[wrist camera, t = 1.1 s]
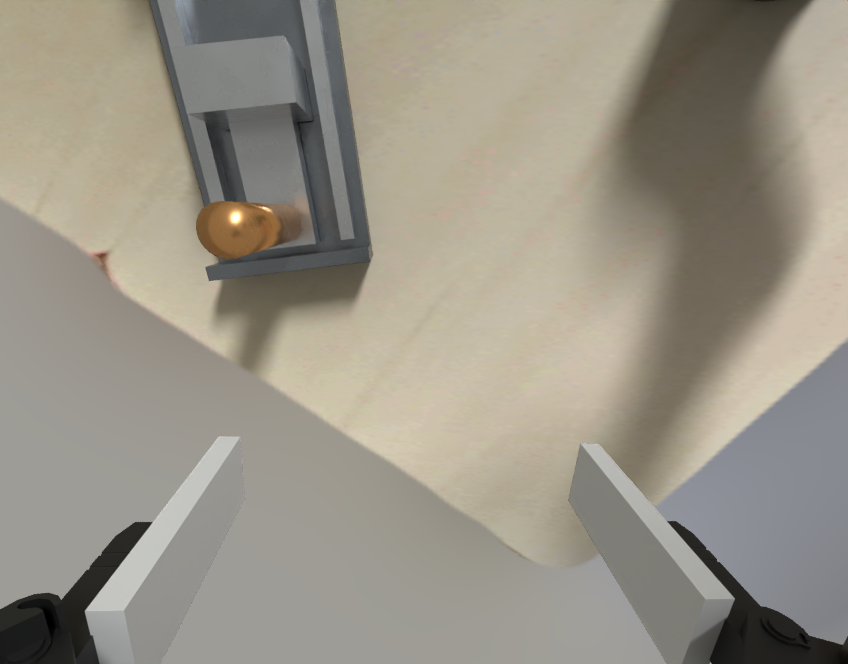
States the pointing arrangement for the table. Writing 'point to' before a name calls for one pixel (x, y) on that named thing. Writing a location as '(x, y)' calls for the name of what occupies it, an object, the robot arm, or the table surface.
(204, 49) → the ram handle
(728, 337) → the table surface
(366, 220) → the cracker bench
